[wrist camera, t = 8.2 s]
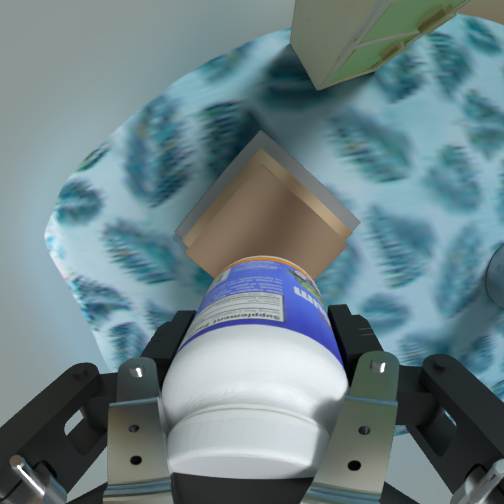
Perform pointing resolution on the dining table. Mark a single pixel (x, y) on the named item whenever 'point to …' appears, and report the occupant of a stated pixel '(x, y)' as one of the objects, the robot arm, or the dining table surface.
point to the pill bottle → (255, 377)
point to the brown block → (266, 222)
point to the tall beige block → (360, 33)
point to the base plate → (287, 163)
